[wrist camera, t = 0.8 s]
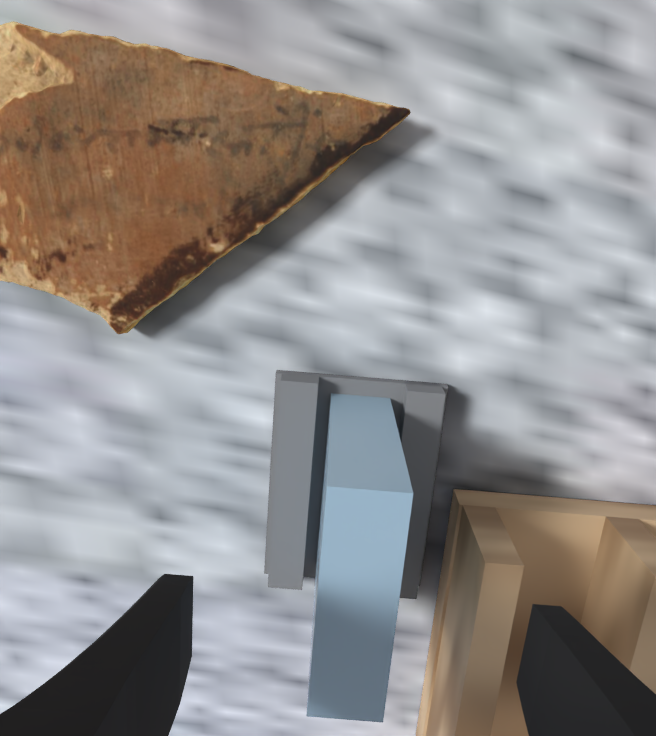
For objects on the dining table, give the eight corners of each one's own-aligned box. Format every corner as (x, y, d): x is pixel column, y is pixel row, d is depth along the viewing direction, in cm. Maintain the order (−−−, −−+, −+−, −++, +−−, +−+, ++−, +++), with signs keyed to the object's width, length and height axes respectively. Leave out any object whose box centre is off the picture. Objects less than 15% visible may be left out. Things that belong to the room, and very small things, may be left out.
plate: (370, 569, 20) (382, 721, 14) (316, 564, 20) (306, 716, 14) (390, 398, 18) (413, 493, 12) (330, 393, 18) (327, 486, 12)
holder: (418, 580, 20) (422, 599, 19) (265, 567, 20) (261, 586, 19) (446, 384, 18) (452, 394, 17) (276, 370, 18) (273, 380, 17)
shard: (405, 116, 17) (413, 107, 15) (342, 372, 19) (343, 390, 17) (18, 21, 16) (-21, 0, 15) (-3, 294, 18) (-38, 304, 17)
